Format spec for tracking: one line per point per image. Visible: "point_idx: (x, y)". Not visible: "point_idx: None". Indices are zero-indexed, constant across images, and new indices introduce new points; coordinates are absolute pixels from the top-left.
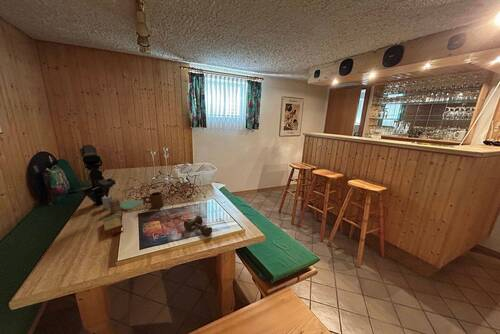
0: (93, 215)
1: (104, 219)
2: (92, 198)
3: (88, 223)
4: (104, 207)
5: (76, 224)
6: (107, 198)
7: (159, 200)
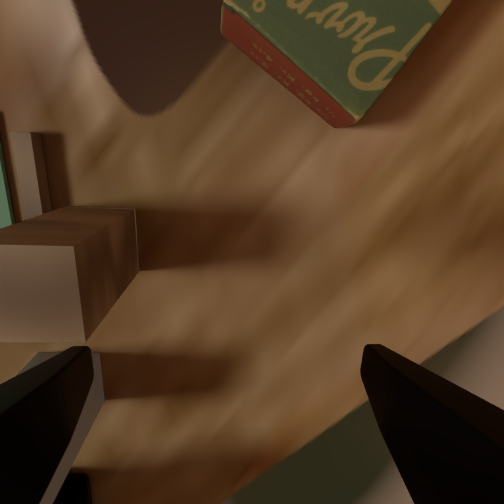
0: (232, 365)
1: (376, 75)
2: (501, 418)
3: (349, 279)
4: (99, 401)
5: None
6: None
7: None
